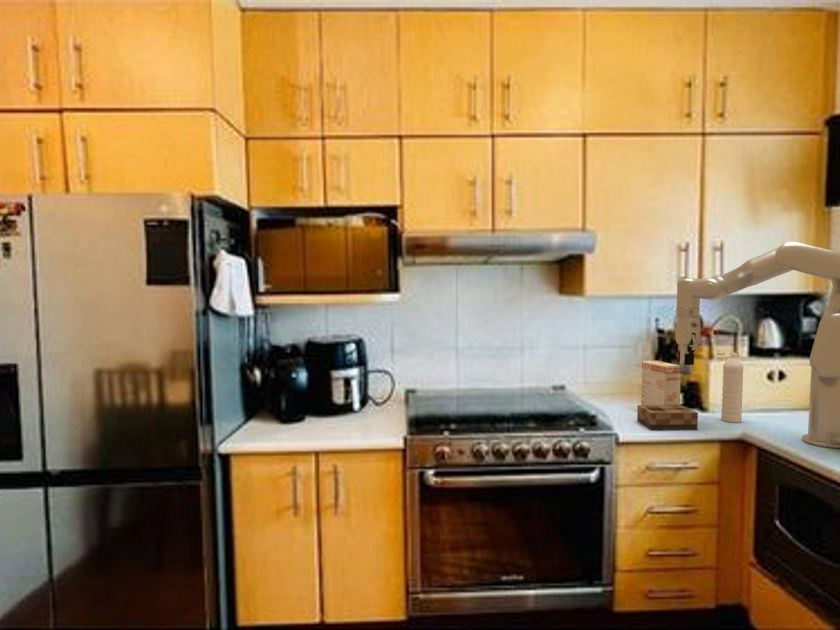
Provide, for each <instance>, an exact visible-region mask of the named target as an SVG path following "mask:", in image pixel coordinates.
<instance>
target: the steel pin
mask: <svg viewBox="0 0 840 630" xmlns="http://www.w3.org/2000/svg"><path fill="white" fill-rule="evenodd" d="M689 345H692V343H690V344H689ZM689 348H690V347H689ZM685 354H686V347H685V345H684V344H682V343H681V346H680V363H679V366H680V373H679V374H681V375H686V376H690V375H693V365H685V364H684V357H685Z"/></svg>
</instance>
